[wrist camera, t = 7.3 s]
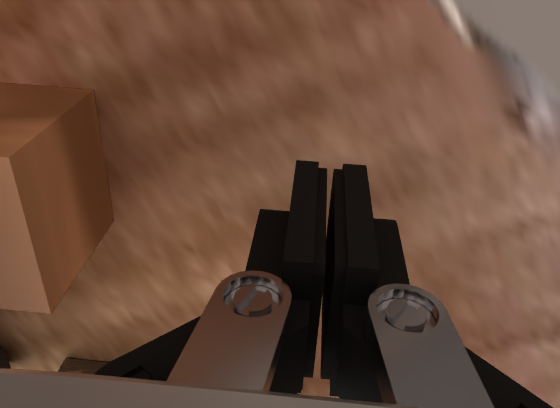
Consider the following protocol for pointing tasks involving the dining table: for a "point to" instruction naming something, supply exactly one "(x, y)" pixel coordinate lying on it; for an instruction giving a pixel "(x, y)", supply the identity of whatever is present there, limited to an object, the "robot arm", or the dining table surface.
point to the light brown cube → (48, 192)
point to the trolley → (4, 360)
